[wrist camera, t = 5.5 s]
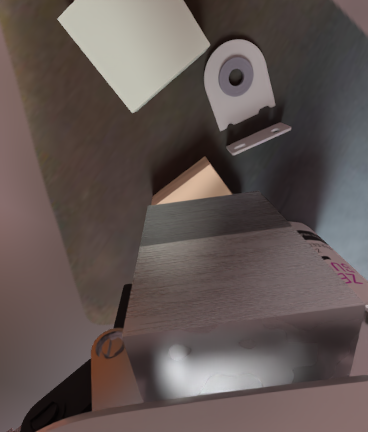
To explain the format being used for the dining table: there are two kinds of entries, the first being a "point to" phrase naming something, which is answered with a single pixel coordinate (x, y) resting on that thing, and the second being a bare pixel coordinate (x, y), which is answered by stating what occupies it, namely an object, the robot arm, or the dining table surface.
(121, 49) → the stand
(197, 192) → the stand
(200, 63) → the dining table surface
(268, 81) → the bracket
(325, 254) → the supplement can
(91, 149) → the dining table surface
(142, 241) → the block
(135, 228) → the dining table surface
